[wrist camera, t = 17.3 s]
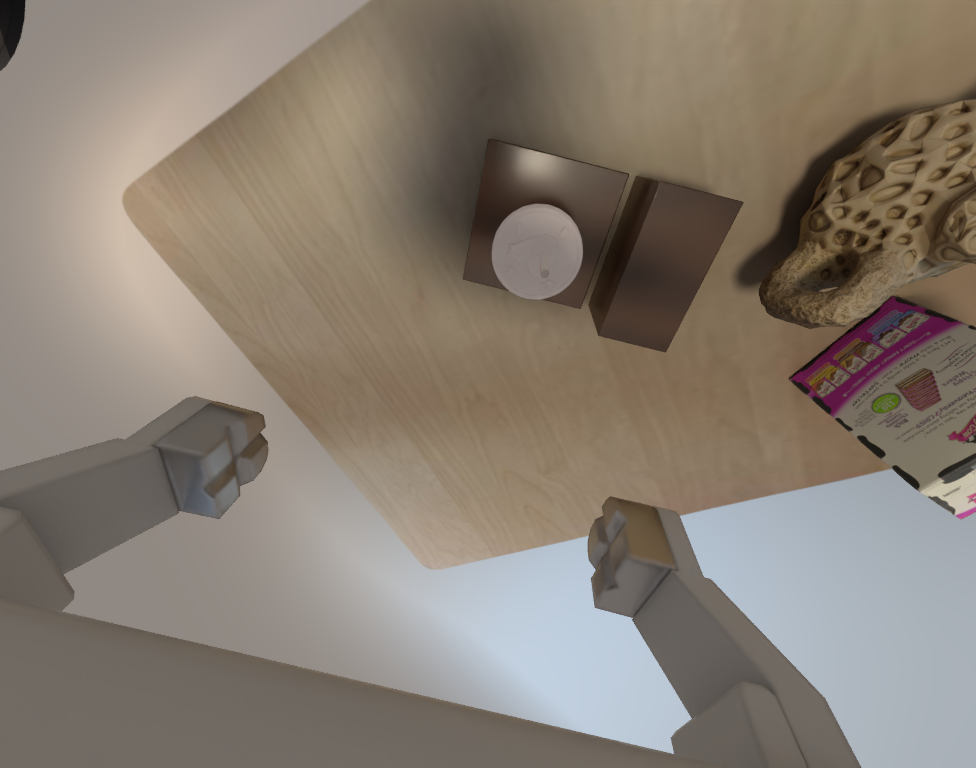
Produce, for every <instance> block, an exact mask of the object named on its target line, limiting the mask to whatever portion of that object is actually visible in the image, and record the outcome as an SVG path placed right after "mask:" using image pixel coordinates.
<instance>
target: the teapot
mask: <svg viewBox="0 0 976 768" xmlns="http://www.w3.org/2000/svg"><path fill="white" fill-rule="evenodd" d="M800 225H801V227H800V237H799V242H798V246H797V249H796V250H794V251H793V252H792V253H791V254H790V255H789V256H787V257H786V258H785V259H784V260H782V261H780V262H779V263H777V264H776V265H775V266H774V267H773V268H772V269H771V270H770V272H769V273H768V274H767V275H766V277H765V278H764V280H763V281H762V284H761V286H760V288H759V296H760V300H761V304H762V305H763V306H765V308H766V311H767V313H768V314H769V315H771V316H773V317H774V318H778V319H781V320H784V321H787V322H791V323H794V324H797V325H800V326H803V327H806V328H808V329H813V328H818V327H827V326H846V325H848V324H849V323H851V322H852V321H855V320H858V319H862V318H865V317H868V316H869V315H870V314H871V313H873V312H874V311H875V310H876V309H877V308H878V307H879V306H881V305H882V304H883V302H885V301H886V300H887V299H888V298H889V297H890V296H891V295H893V294H894V293H895V292H896V291H897V290H898V289H899V288H901V287H902V286H903V285H905V284H907V283H911V282H915V281H918V280H921V279H925V278H928V277H937V276H939V275H941V274H944V273H946V272H949V271H951V270H953V269H956V268H958V267H961V266H963V265H965V264H968V263H974V264H976V99H974V100H963V101H958V102H953V103H948V104H943V105H939V106H934V107H929V108H925V109H920V110H916V111H914V112H911V113H909V114H907V115H905V116H902V117H900V118H898V119H896V120H894V121H893V122H891V123H890V124H888V125H886V126H885V127H883V128H882V129H880V130H879V131H877V132H876V133H874V134H873V135H872V136H870V137H869V138H867V139H866V140H865V141H863V142H862V143H861V144H859V145H858V146H857V147H856V148H855V149H854V150H852V151H851V152H850V153H849V154H847V155H846V156H845V157H843V158H841V159H837V160H836V161H835V162H834V163H833V164H832V165H831V167H830V168H829V170H828V171H827V173H826V174H825V176H824V177H823V179H822V181H821V182H820V184H819V185H818V187H817V189H816V191H815V195H814V200H813V203H812V205H811V206H810V208H809V209H808V211H807V212H806V213H805V215H804V216H803V217H802V219H801V220H800ZM832 287H838V288H837V289H834V290H831V291H828V292H825V293H824V292H818V291H820V290H822V289H826V288H832Z"/></svg>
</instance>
